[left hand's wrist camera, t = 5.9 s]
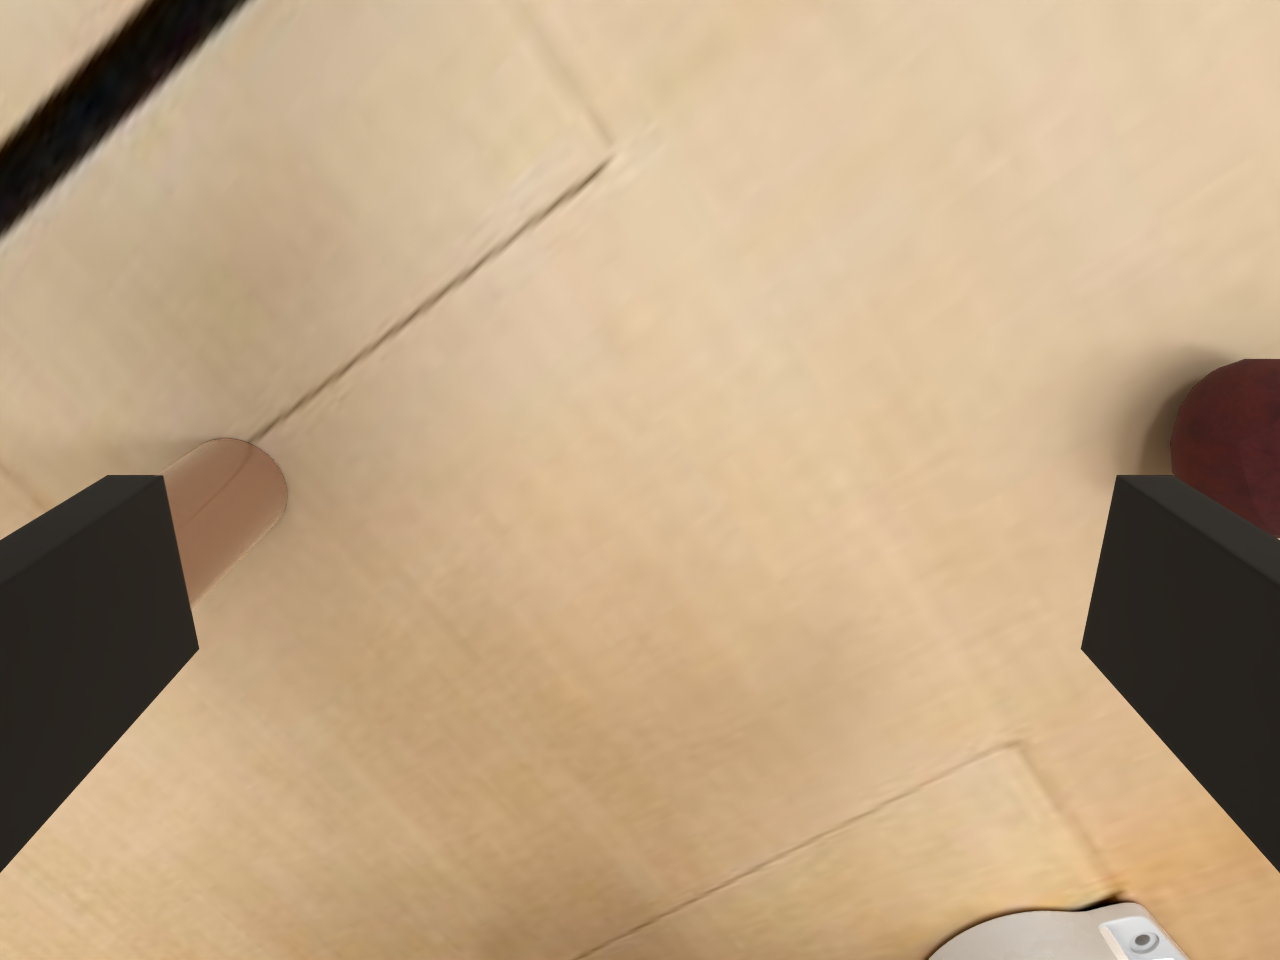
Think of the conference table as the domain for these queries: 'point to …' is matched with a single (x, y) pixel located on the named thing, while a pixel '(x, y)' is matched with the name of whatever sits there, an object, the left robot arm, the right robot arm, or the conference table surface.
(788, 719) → the conference table surface
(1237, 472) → the dark red ball
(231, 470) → the jar
